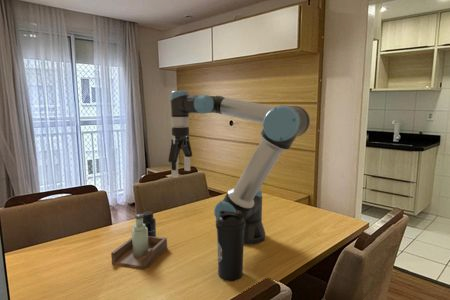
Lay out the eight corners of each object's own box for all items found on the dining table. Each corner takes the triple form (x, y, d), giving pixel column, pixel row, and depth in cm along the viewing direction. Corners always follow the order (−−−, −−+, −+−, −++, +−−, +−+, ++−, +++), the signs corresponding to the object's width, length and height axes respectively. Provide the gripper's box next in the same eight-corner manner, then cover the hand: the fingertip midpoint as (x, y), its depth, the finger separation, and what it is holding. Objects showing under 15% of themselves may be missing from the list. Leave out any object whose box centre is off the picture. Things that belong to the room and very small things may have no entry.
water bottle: (215, 267, 111) (214, 207, 107) (242, 265, 111) (243, 206, 108) (216, 283, 101) (216, 218, 97) (246, 281, 101) (247, 217, 98)
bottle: (151, 250, 121) (149, 213, 119) (143, 257, 115) (141, 218, 113) (138, 248, 123) (136, 211, 120) (129, 255, 117) (127, 217, 115)
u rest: (167, 248, 125) (166, 238, 125) (145, 269, 109) (145, 257, 108) (136, 243, 129) (136, 234, 129) (111, 263, 113) (111, 252, 112)
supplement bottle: (152, 242, 130) (151, 216, 129) (137, 241, 132) (136, 215, 130) (158, 235, 137) (157, 210, 135) (144, 234, 138) (143, 209, 137)
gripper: (183, 124, 144) (184, 167, 148) (158, 128, 121) (160, 179, 124) (198, 124, 142) (199, 168, 145) (176, 128, 119) (177, 181, 122)
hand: (181, 173), depth 135 cm, fingers open, 13 cm apart
